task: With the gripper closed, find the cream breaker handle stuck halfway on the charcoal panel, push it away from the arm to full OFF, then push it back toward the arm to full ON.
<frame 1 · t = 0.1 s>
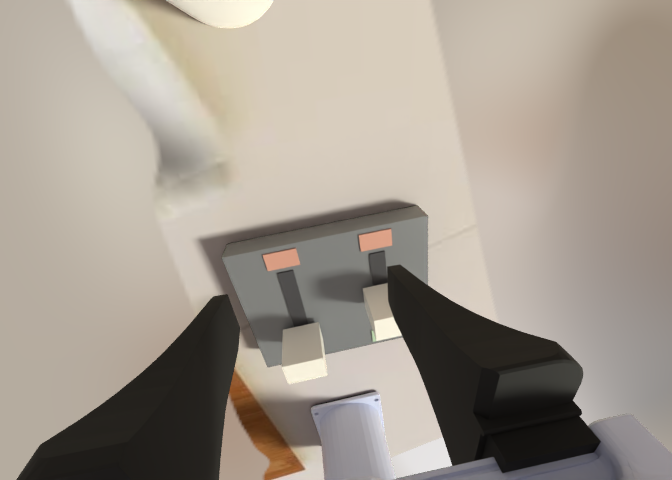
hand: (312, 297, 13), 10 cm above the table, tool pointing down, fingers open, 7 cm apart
panel: (335, 284, 26), on the table
breaker tripped: (388, 309, 22), point 4 cm above the table, slide at 2.5 cm
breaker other: (304, 351, 23), point 4 cm above the table, slide at 0.0 cm
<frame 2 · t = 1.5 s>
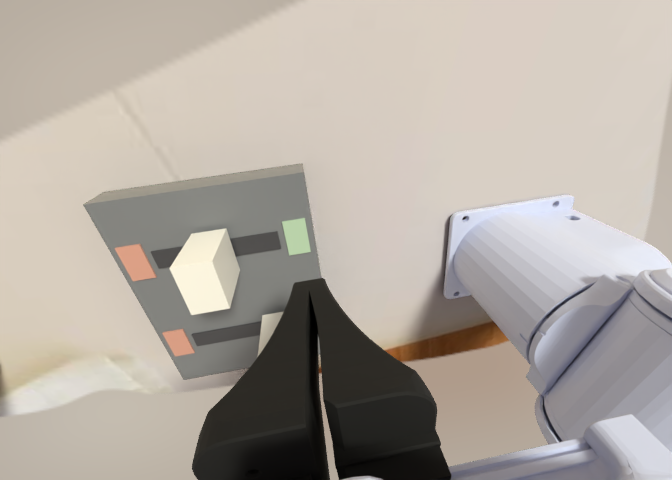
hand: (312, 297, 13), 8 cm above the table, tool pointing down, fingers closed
panel: (238, 276, 22), on the table
breaker tripped: (209, 269, 16), point 4 cm above the table, slide at 2.5 cm
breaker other: (280, 347, 20), point 4 cm above the table, slide at 0.0 cm
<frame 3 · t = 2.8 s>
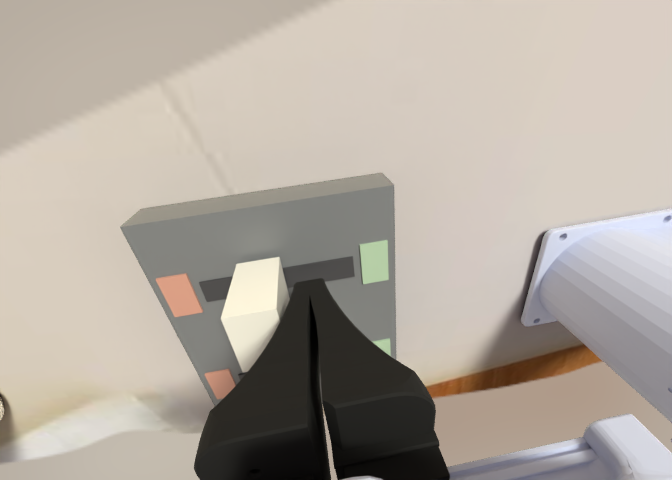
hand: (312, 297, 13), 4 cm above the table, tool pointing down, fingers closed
panel: (292, 304, 18), on the table
breaker tripped: (262, 310, 13), point 4 cm above the table, slide at 3.2 cm, touching gripper
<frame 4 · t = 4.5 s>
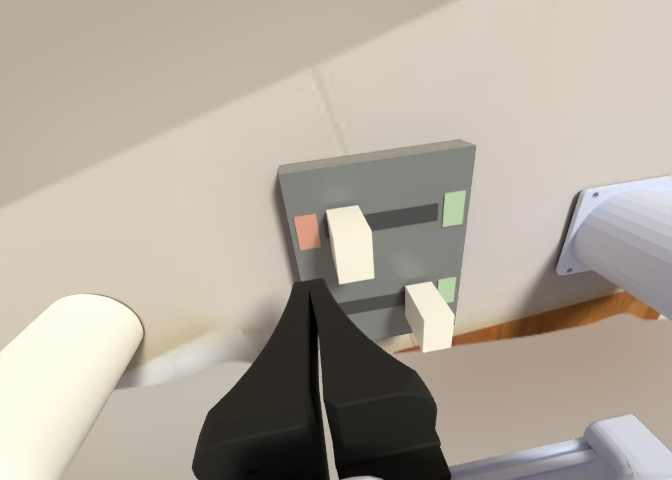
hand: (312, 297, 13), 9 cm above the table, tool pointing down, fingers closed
panel: (376, 250, 23), on the table
breaker tripped: (349, 242, 17), point 4 cm above the table, slide at 5.1 cm
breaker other: (427, 315, 21), point 4 cm above the table, slide at 0.0 cm
can: (100, 321, 23), on the table
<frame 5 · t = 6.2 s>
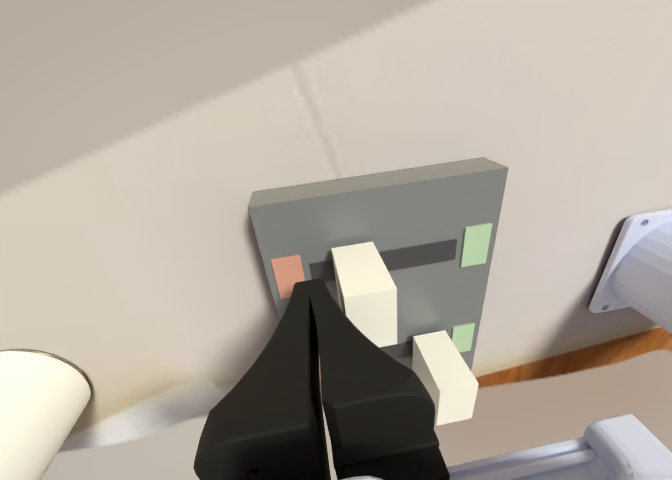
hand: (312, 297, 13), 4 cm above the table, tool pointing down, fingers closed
panel: (377, 289, 19), on the table
breaker tripped: (362, 293, 13), point 4 cm above the table, slide at 4.2 cm, touching gripper
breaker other: (441, 375, 17), point 4 cm above the table, slide at 0.0 cm
can: (37, 379, 18), on the table
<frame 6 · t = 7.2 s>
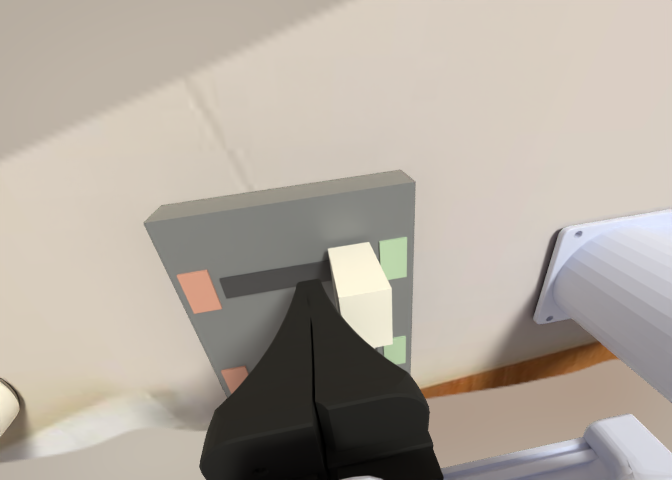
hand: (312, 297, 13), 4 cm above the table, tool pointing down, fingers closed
panel: (307, 301, 18), on the table
breaker tripped: (358, 293, 13), point 4 cm above the table, slide at -0.1 cm, touching gripper
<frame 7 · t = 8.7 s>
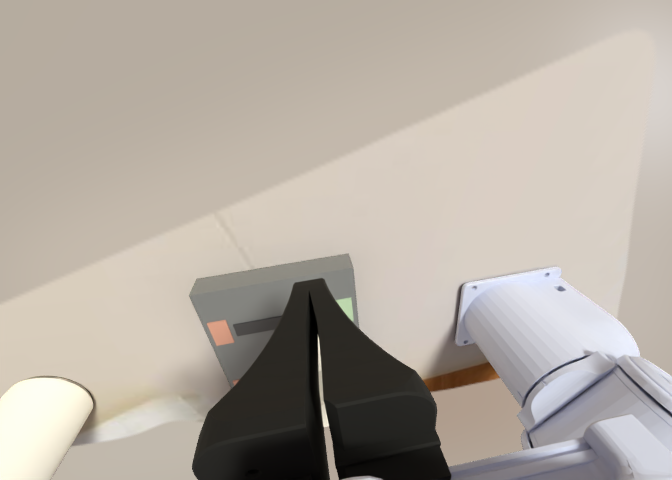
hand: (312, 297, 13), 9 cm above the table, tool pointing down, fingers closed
panel: (291, 333, 27), on the table
breaker tripped: (317, 336, 22), point 4 cm above the table, slide at -0.1 cm
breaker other: (328, 394, 25), point 4 cm above the table, slide at 0.0 cm
can: (56, 395, 27), on the table
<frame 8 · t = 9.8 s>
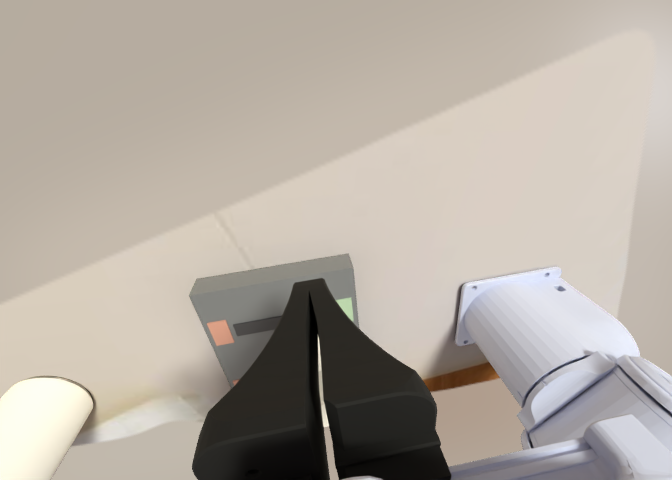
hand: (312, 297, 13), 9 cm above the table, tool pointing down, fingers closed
panel: (291, 333, 27), on the table
breaker tripped: (317, 336, 22), point 4 cm above the table, slide at -0.1 cm
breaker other: (328, 394, 25), point 4 cm above the table, slide at 0.0 cm
can: (56, 395, 27), on the table
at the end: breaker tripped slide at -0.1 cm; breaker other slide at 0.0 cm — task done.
